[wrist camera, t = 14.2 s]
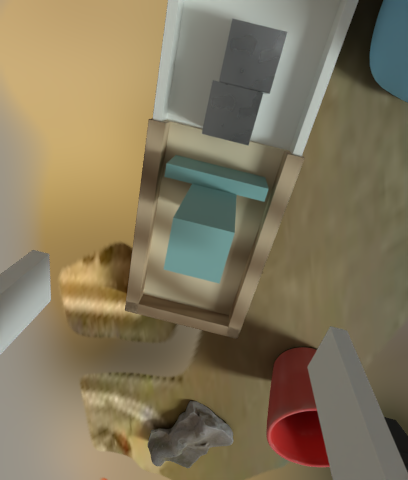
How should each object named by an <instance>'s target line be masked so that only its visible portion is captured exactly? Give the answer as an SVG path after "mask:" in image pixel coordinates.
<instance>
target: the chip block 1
mask: <svg viewBox="0 0 408 480" xmlns="http://www.w3.org/2000/svg"><path fill="white" fill-rule="evenodd" d="M286 36H287V32H286V31H282V30H278V29H274V28H269V27H265V26H261V25H257V24H253V23H249V22H245V21H241V20H237V19H233V18H232V23H231V28H230V32H229V37H228V42H227V46H226V51H225V56H224V60H223V65H222V70H221V74H220V79H219V82H222V83H226V84H230V85H234V86H238V87H242V88H246V89H250V90H254V91H258V92H262V93H263V94H270V91H271V88H272V84H273V81H274V77H275V74H276V70H277V67H278V63H279V60H280V56H281V53H282V50H283V46H284V43H285V39H286Z"/></svg>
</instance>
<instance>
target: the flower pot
mask: <svg viewBox="0 0 408 480" xmlns="http://www.w3.org/2000/svg"><path fill="white" fill-rule="evenodd" d="M316 351H317V350H316V349H313V348H307V347H299V348H293V349H290V350H287V351H285V352H283V353H282V354H281V355H279V357H278V358H277V359H276V361H275V363H274V367H273V375H272V381H271V389H270V398H269V408H268V418H267V440H268V443H269V445H270V446H271V448H272V449H273V450H274V451H275V452H276V453H277V454H279V455H280V456H282V457H283V458H285V459H287V460H289V461H291V462H294V463H297V464H301V465H305V466H311V467H330V465H329V460H328V456H327V452H326V447H325V443H324V438H323V434H322V430H321V425H320V421H319V416H318V412H317V407H316V403H315V399H314V394H313V390H312V385H311V381H310V376H309V372H308V368H307V367H308V365H309V363H310V361H311V360H312V358H313V356H314V354H315V353H316Z"/></svg>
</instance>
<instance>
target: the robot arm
mask: <svg viewBox="0 0 408 480" xmlns="http://www.w3.org/2000/svg"><path fill="white" fill-rule="evenodd" d="M50 293H51V292H50V263H49V254H47V253H43V252H39V251H35V250H32V251H31V252H30V253H28V254H27V255H26V256H24V257H23V258H21V259H20V260H19V261H17V262H16V263H15V264H13V265H12V266H11V267H9V268H8V269H7V270H5V271H4V272H3V273H1V274H0V354H1V353H2V352H3V351H4V350H5V349H6V348H7V347H8V346H9V345H10V344H11V343H12V341H13V340H14V339H15V338H16V337H17V336H18V335H19V334H20V333H21V332H22V331H23V330H24V329H25V328H26V327H27V325H28V324H29V323H30V322H31V321H32V320H33V319H34V318H35V317H36V316H37V315H38V314H39V313H40V311H42V309H43V308H44V307H45V306H46V305H47V304H48V303H49V302H50V301H51V294H50ZM307 368H308V372H309V376H310V381H311V385H312V390H313V394H314V399H315V403H316V407H317V412H318V416H319V421H320V425H321V430H322V434H323V438H324V443H325V447H326V452H327V456H328V460H329V465H330V469H331V474H332V478H333V480H408V436H407V434H406V433H405V432H404V430H403V429H402V428H401V426H400V425H399V424H398V423H397V421H396V420H393V419H389V418H386V417H384V416H383V414H382V411H381V409H380V407H379V405H378V402H377V400H376V397H375V395H374V393H373V391H372V388H371V386H370V383H369V381H368V379H367V376H366V374H365V372H364V369H363V367H362V365H361V362H360V360H359V358H358V355H357V353H356V351H355V348H354V346H353V344H352V341H351V339H350V336H349V334H348V332H347V331H346V330H343V329H339V328H335V327H331V326H330V328H329V330H328V331H327V333H326V335H325V337H324V339H323V340H322V342H321V344H320V346H319V347H318V349H317V351H316V353H315V354H314V356H313V358H312V360H311V361H310V363H309V365H308V367H307Z"/></svg>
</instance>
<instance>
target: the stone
mask: <svg viewBox="0 0 408 480" xmlns="http://www.w3.org/2000/svg"><path fill="white" fill-rule="evenodd" d="M232 443H233V432H232V430H231V428H230V427H229V425H228V424H225V423H224V422H223V420H222V419H220V418H218V417H217V416H216V415H215V414H214V413H213V412H212V411H211V410H210V409H209V408H207V407H206V406H204V405H203V404H201V403H199V402H197V401H189V404H188V406H187V408H186V411H185V412H183V413H182V414H181V415H180V416H179V418H178V420H177V421H176V423H175V425H174V426H173V427H172V428H170V429H160V428H159V429H154V430H151V435H150V437H149V442H148V448H149V451H150V454H151V459H152V462H153V464H154V465H156V466H161V465H162V464H163V463H164V462H165V461H172V462H175V463H177V464H179V465H181V466H184V467H186V468H190V467H191V466H192V464H193V463H194V462H196V461H197V460H198V458H199V457H200V456H202V455H204V454H207V452H208V450H209V448H210V447H215V446H228V445H231V444H232Z"/></svg>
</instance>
